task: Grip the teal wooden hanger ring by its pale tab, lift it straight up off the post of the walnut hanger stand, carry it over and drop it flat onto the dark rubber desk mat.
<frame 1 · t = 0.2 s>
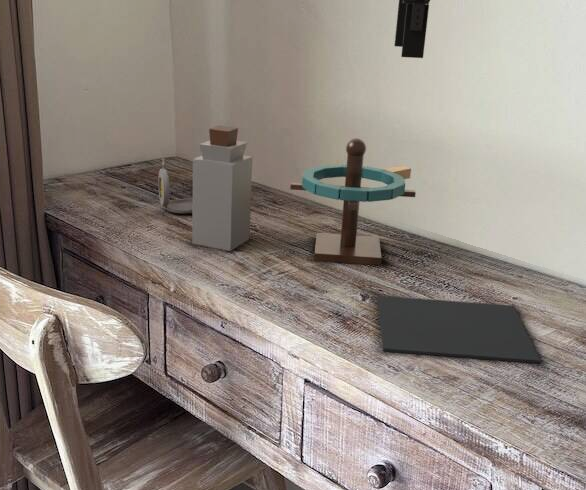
hand: (407, 52, 111), 31 cm above the table, tool pointing down, fingers open, 13 cm apart
stand: (347, 252, 127), on the table
perfume bottle: (221, 242, 129), on the table
mat: (452, 328, 102), on the table
pocket watch: (177, 211, 144), on the table
ring: (353, 182, 123), point 11 cm above the table, touching stand
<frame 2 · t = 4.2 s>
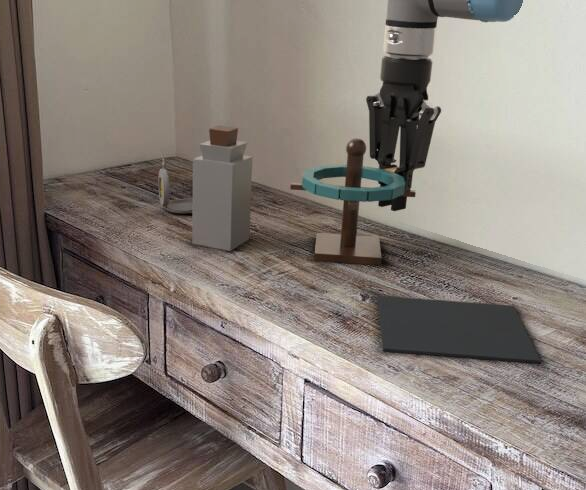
hand: (391, 207, 130), 6 cm above the table, tool pointing down, fingers closed on ring, 2 cm apart
ring: (353, 182, 123), point 11 cm above the table, touching gripper, stand
everything else where it was.
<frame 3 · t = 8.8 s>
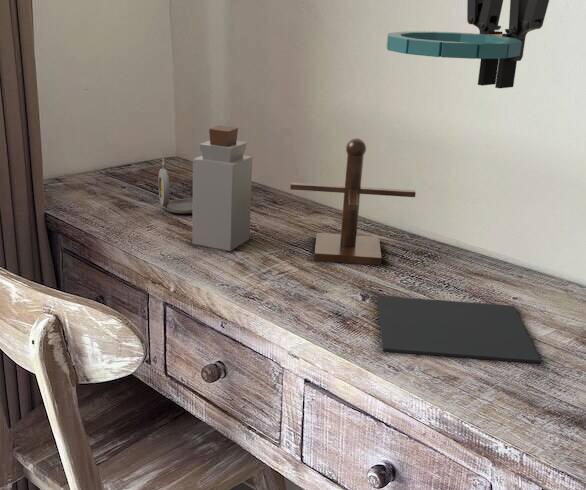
hand: (495, 85, 103), 28 cm above the table, tool pointing down, fingers closed on ring, 2 cm apart
ring: (452, 44, 96), point 34 cm above the table, touching gripper
everything else where it was.
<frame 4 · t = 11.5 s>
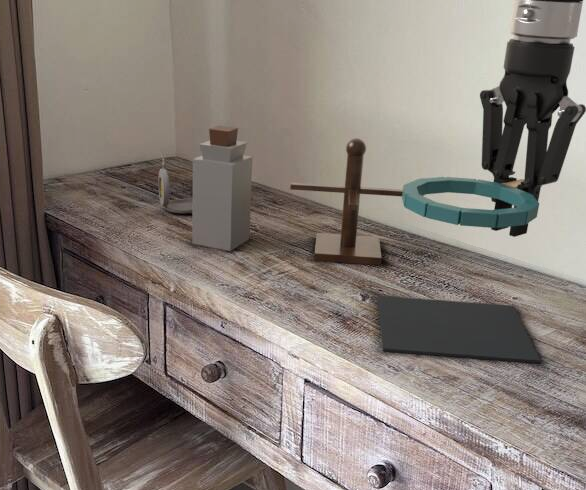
hand: (508, 230, 103), 11 cm above the table, tool pointing down, fingers closed on ring, 2 cm apart
ring: (468, 200, 96), point 17 cm above the table, touching gripper
everything else where it was.
when the fingers open (2 cm above the table, at t = 13.6 s): ring drops 6 cm, resting on mat.
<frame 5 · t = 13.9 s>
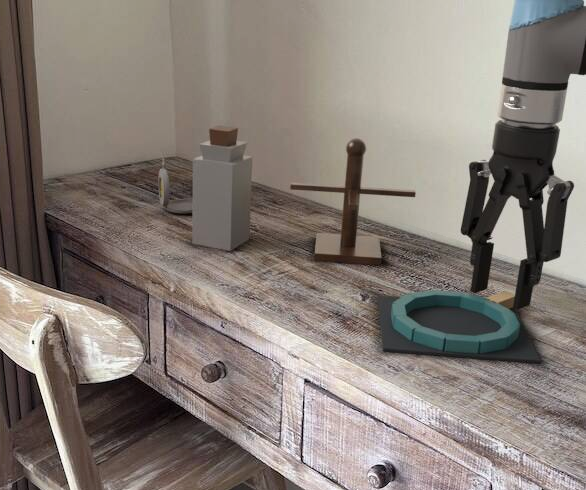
hand: (499, 297, 107), 2 cm above the table, tool pointing down, fingers open, 6 cm apart
ring: (453, 319, 101), point 1 cm above the table, touching mat
everything else where it was.
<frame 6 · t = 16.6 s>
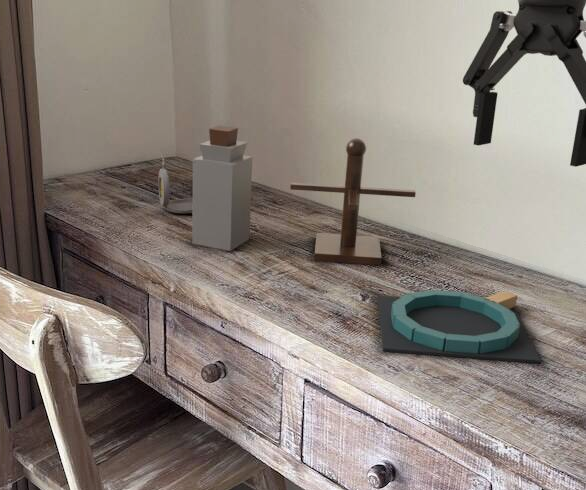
hand: (528, 154, 101), 21 cm above the table, tool pointing down, fingers open, 13 cm apart
nothing on the table moved.
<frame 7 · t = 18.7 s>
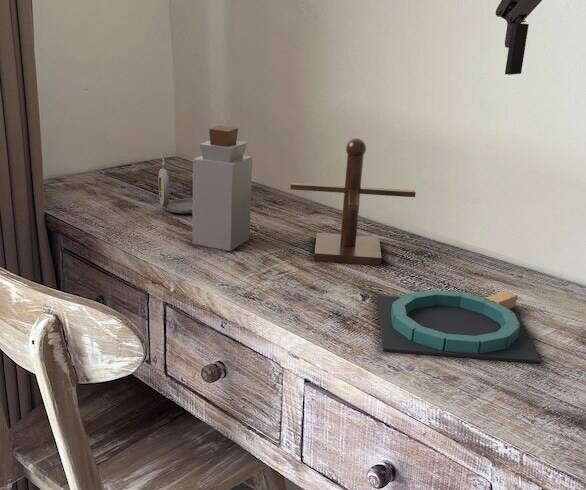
hand: (557, 81, 106), 29 cm above the table, tool pointing down, fingers open, 13 cm apart
nothing on the table moved.
at the end: ring inside the target area on the mat (0.0 cm from its centre), point 1.2 cm above the mat's base; ring point 1.2 cm above the table; the gripper is holding nothing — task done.
